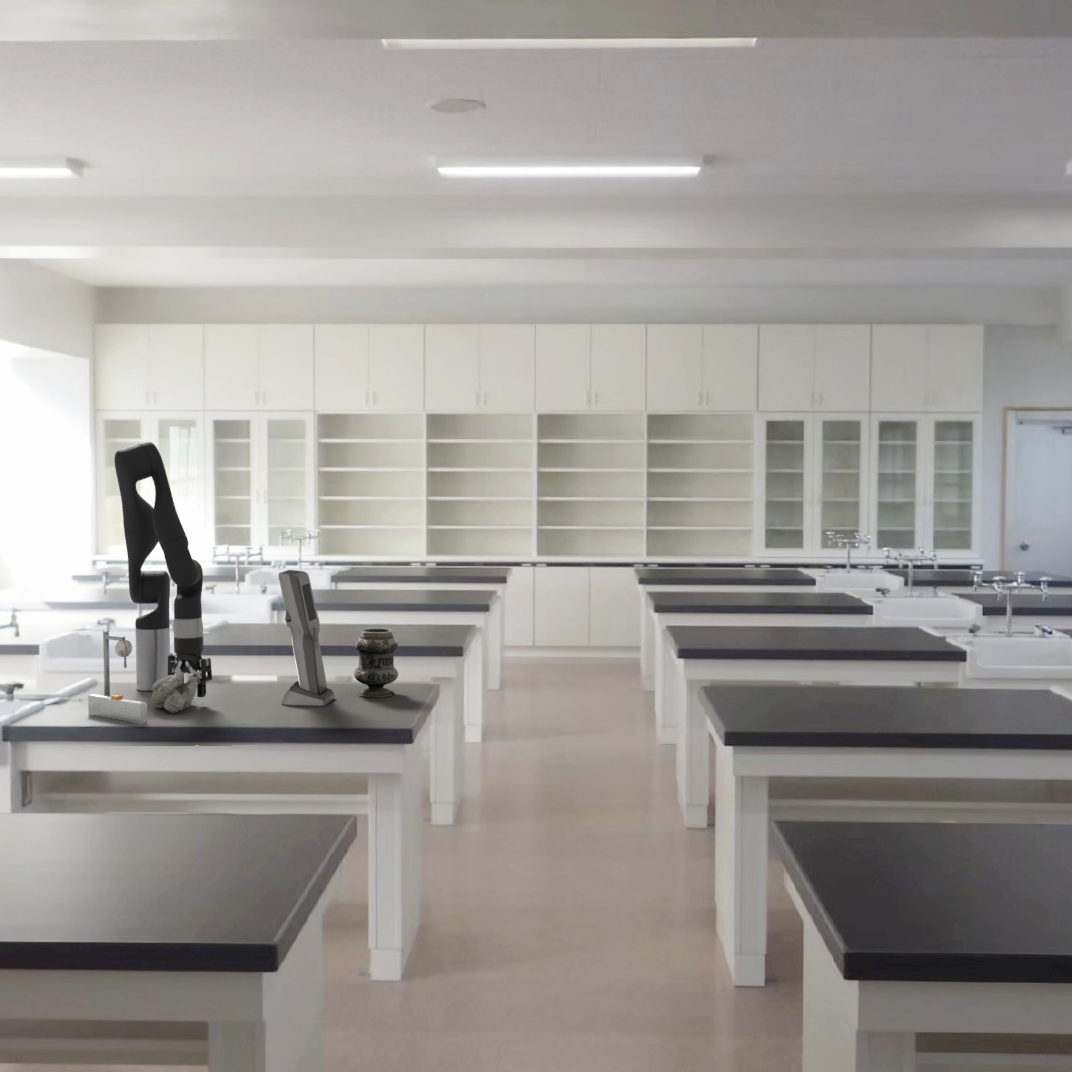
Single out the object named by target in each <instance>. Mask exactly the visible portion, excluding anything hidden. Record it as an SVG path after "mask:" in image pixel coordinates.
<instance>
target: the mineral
mask: <svg viewBox="0 0 1072 1072" xmlns="http://www.w3.org/2000/svg"><path fill="white" fill-rule="evenodd" d="M197 686H198V683H197V681H196V679H195V678H191V679H188V680H187V681H186V682H185V674H182V673H179V674H175V675H169V676H167V677H165V678H164V679H159V680H157V681H156V682H155V683H154V684H153V686H152V688H151V689H152V690H153V691H151V692H152V693H151V694H152V695H151V698H150V702H151V703H152V704H153V705H154V706H155V707H156V708H157V709H162V708H164V710H166V711H168V712H169V713H171V714H175V713H178V712H179V711H182V710H183V709H187V708H188V707H190V706H191V705H192V704H191V703H192V701H193V700H194V699H195V695H196V694H197Z"/></svg>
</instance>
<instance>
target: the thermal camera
mask: <svg viewBox="0 0 1072 1072" xmlns="http://www.w3.org/2000/svg"><path fill="white" fill-rule="evenodd" d="M278 580H279V584H280V589H281V590H280V591H281V595H282V600H283V604H284V608H285V617H284V621H285V626H286V627H287V628H290V636H291V643H292V649H293V650H292V651H293V655H294V662H295V665H296V670H297V676H298V677H297V678H298V680H297V681H295V682H294V683H293V684H291V685H292V686H290V687H289V689H288V690H287V691H286V693H285V694H284V695H283V698H282V699H281V705H283V706H287V707H288V706H290V707H292V706H293V707H294V706H295V707H325V706H327V705H328V704H330V703H331V702H332V701H333V700H334V699H336V696H335V692H334V691H333V690H332V689H331V688H328V684H327V679H326V672H325V667H324V660H323V656H322V650H321V645H320V640H319V635H320V630H321V626H320V618H319V614H318V609H317V606H316V602H315V598H314V594H313V593H314V592H313V588H312V583H311V579H310V576H309V574H308V572H306V571H304V570H294V569H287V570H285V571H282V572H279V573H278Z"/></svg>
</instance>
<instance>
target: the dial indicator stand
mask: <svg viewBox="0 0 1072 1072" xmlns="http://www.w3.org/2000/svg"><path fill="white" fill-rule="evenodd" d="M109 632H110V631H109V630H102V638H103V639H102V640H103V641H102V643H103V644H102V645H103V649H102V650H103V651H102V652H103V686H104V687H103V689H104V690H103V691H104V693H103V694H104V695H103V696H109V697H111V682H110V681H111V678H110V675H111V673H110V670H111V669H110V641H111V640H112V641H117V643H115V644H116V645H115V648H114V651H115V653H116V656H118V657H122V658H123V668H125V669H127V667H128V666H127V657H128V656H130V655H131V653H132V651H133V644H132V643H131V641H130V640H127V639H126V636H124V635H123V636H122V635H114V634H109Z"/></svg>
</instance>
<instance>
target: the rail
mask: <svg viewBox="0 0 1072 1072" xmlns="http://www.w3.org/2000/svg"><path fill="white" fill-rule="evenodd" d="M87 695H88V697H87V701H88V705H87V706H88V716H89V715H90V716H93V715H97V716H96V717H99V716H103V717H102V718H105V717H108V718H107V719H110V718H113V719H112V720H116V719H117V720H116V721H121V720H123V722H127V721H128V723H132V722H133V724H139V725H143V724H147V723H148V715H147V714H148V710H147V709H148V706H147V702H144V701H140V700H133V699H128V698H127V699H126V698H124V697H123V696H124V695H121V694H112V695H110V697H109V696H104V695H103V694H96V693H93V694H87Z"/></svg>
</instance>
